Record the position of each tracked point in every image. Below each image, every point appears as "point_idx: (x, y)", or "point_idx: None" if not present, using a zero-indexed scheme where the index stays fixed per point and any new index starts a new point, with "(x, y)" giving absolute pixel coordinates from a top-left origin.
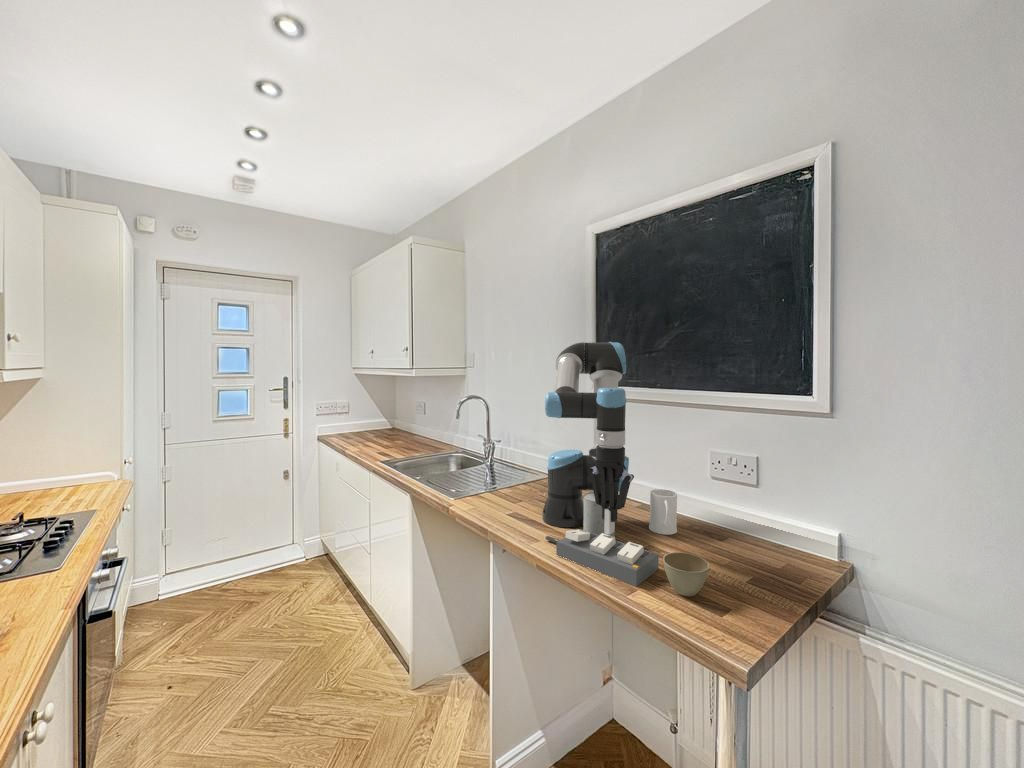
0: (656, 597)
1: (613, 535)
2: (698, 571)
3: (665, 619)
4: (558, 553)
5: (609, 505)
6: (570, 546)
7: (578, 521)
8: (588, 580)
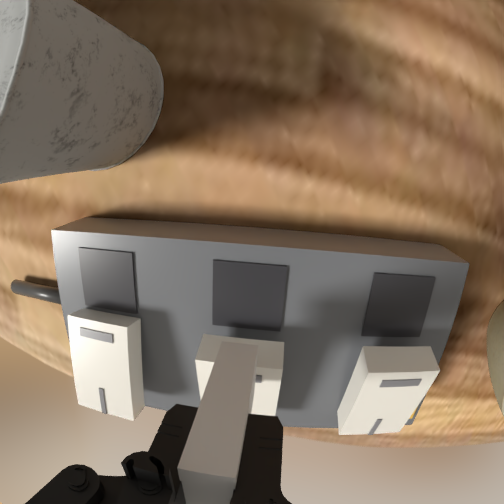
0: (449, 395)
1: (155, 77)
2: None
3: (462, 437)
4: None
5: (173, 483)
6: None
7: None
8: None
